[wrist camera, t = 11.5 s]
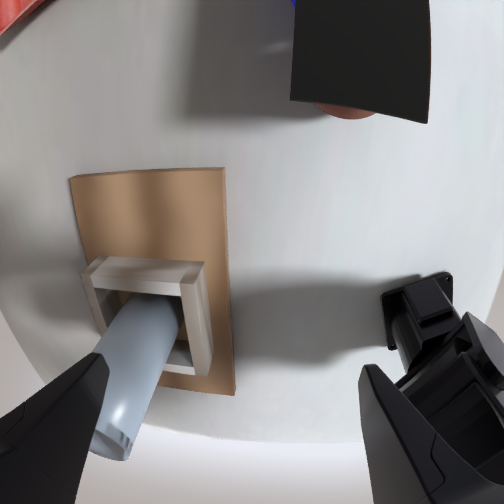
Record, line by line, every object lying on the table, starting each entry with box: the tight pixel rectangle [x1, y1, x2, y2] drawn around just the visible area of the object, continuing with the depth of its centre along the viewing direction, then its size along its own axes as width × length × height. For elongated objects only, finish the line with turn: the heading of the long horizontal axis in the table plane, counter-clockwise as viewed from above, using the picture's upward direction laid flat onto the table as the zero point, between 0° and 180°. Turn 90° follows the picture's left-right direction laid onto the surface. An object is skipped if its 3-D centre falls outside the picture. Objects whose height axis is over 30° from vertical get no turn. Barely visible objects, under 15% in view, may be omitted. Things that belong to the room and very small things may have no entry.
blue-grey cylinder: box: [89, 292, 185, 461], centre depth 18 cm, size 5×5×13 cm
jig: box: [70, 167, 236, 396], centre depth 23 cm, size 12×22×4 cm, turn 0°
